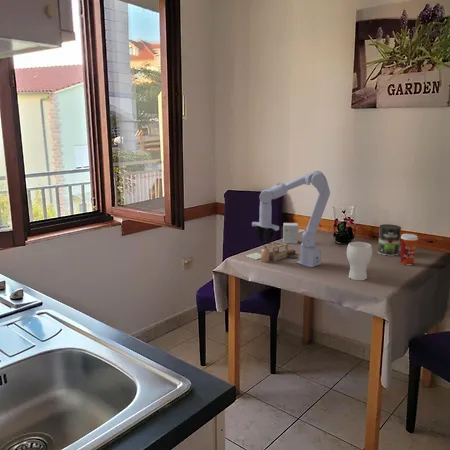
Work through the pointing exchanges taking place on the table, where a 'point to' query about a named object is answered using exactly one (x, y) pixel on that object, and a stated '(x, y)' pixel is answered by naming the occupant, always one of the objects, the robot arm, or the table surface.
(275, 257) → the wooden ladder stand
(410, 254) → the paper cup
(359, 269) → the cup
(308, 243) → the robot arm
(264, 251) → the cylinder
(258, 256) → the pad
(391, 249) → the coffee can
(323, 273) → the table surface
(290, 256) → the mat
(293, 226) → the small box
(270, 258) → the rod
